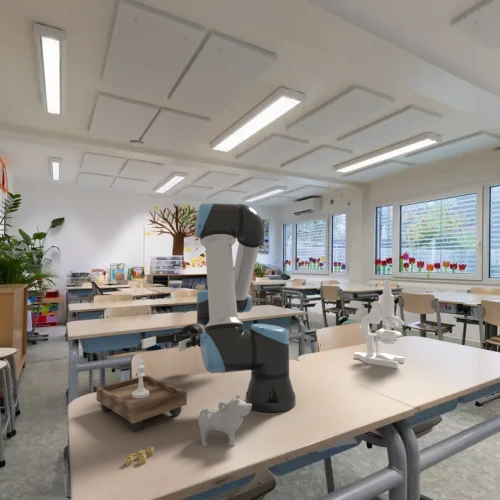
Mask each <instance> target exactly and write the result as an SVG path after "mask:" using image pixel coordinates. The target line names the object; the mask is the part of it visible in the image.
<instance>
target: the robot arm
mask: <svg viewBox="0 0 500 500" xmlns="http://www.w3.org/2000/svg"><path fill="white" fill-rule="evenodd" d="M195 220H196V221H195V228H194V238H197V239H199V241H200V242H199V244H200V245H201V246H202V247H204V249H205V261H206V262H205V264H206V265H205V266H206V267H205V268H206V281H207V283H206V285H207V290H206V289H205V290H204V289H203V290H202V289H201V290H198V291H197V294H196V322H194V323H191V324H187V325H185V326H184V327H183V328H182V329H181V330H180V331H178V332H177V331H176V332H174V331H170V332H165V333H160V334H159V333H158V334H151V335H148V337H147V338H143V339H141V349H147V348H149V347H155V346H156V345H157V344H164V343H172V344H178V352H183V351H185V350H187V349H190V348H192V347H193V348H195V347H196V346H197V347H199V348H200V353H201V354H200V355H201V358H202V362H203V366H204V367H205V369H206V370H207V372H208V373H210V374H225V373H235V372H244V371H250V372H251V373H250V380H249V383H248V387H247V391H246V393H245V402H246V403H248V404H252V406H251V410H254V411H258V412H262V413H280V412H281V413H282V412H285V411H288V410H292V409H293V408H294V407H295V406H296V394H295V392H294V387H293V385H292V381H291V377H290V343H291V342H290V340H289V338H290V337H289V332H288V330H287V329H286V328H284V327H281V326H278V325H273V324H267V323H252V324H251V325H250V327H249V328H250V329H245V328H244V323H243V322H242V321H241V320H240V319H239V317H238V314H239V313H240V314H242V313H248V312H250V311H251V310H252V308H253V306H252V305H253V299H252V296H251V294H250V289H251V283H252V280H253V277H254V276H253V275H254V271H255V267H256V263H257V262H256V261H257V259H258V255H259V250H260V247H262V246H263V244H264V240H265V233H266V232H265V225H264V223H263V220H262V218H261V216H260V214H259V213H258V212H257V211H256V210H255V209H254V208H253V207H252V206H249V205H248V204H241V203H239V204H237V203H215V202H209V203H208V202H207V203H206V202H203V203H200V205H199V207H198V209H197V213H196V219H195ZM236 242H237V243H238V246H237V252H236V257H235V261H234V260H233V259H234V258H233V248H232V247H233V245H234V244H235V243H236ZM234 262H235V263H234Z"/></svg>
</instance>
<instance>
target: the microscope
mask: <svg viewBox="0 0 500 500" xmlns="http://www.w3.org/2000/svg"><path fill="white" fill-rule="evenodd" d="M383 281H384V282H383V289H382V294H380V295H378V300H375V301H372V303H371V310H370V312H368V314H366V315H365V316H363V317H362V318H361V321H360V325H359V327H358V328H359V329H360V332H361V335H362V337H363V338H364V339H365V340H366V352H359V351H357V352H354V353H353V359H356V360H360V361H361V362H364V363H365V364H370V365H376V366H381V367H388V368H393V369H398V368H399V363H400V364H404V363H405V357H404V356H400V355H394V354H390V353H386V352H382V353H380V352H379V351H380V350H379V349H380V348H379V345H381V344H382V343H383V344H385V345H394V344H395V343H396V342H397V341H398V338H399V337H403V336H404V335H402V332H400V331H397V330H392V329H394V328H395V326H396V327H400V325H402V326H405V324H406V322H405V321H403V319H401V318H400V317H399V316H398V315H396V316H395V295H394V294H392V292H393V291H392V289H391V282H390V281H391V280H390V279H384V280H383ZM383 317H384V324H385V327H386V328H385V329H384V328H383V327H382V328H380V329H377V330H376V331H374V333H371V332H370V324H373V325H380V324H381V323H380V322H381V321H383ZM390 328H391V330H390Z"/></svg>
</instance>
